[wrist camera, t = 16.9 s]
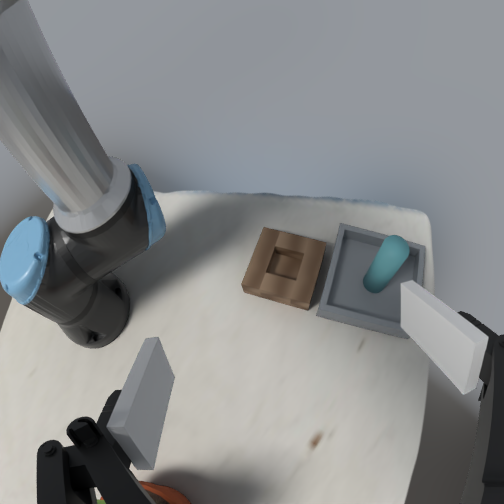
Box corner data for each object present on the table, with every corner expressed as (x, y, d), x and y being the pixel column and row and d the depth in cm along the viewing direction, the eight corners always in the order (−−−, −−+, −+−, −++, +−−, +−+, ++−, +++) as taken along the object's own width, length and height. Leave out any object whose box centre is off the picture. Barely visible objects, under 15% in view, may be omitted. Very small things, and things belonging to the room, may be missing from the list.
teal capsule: (361, 290, 49) (381, 257, 38) (365, 268, 51) (384, 232, 40) (383, 295, 48) (408, 264, 38) (386, 274, 50) (410, 239, 39)
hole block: (244, 292, 52) (241, 284, 49) (264, 237, 57) (263, 227, 54) (308, 310, 49) (309, 303, 46) (324, 252, 54) (326, 242, 51)
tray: (316, 315, 49) (318, 308, 46) (337, 233, 56) (340, 223, 53) (407, 338, 45) (415, 333, 42) (418, 255, 52) (425, 246, 49)
